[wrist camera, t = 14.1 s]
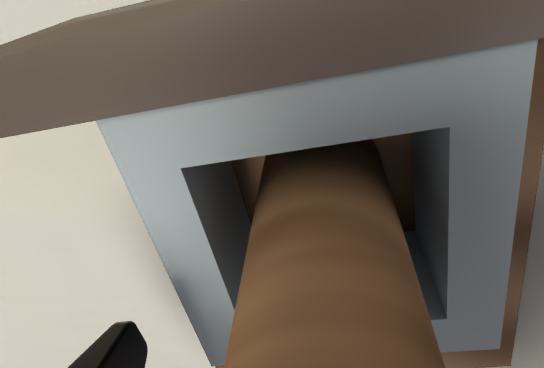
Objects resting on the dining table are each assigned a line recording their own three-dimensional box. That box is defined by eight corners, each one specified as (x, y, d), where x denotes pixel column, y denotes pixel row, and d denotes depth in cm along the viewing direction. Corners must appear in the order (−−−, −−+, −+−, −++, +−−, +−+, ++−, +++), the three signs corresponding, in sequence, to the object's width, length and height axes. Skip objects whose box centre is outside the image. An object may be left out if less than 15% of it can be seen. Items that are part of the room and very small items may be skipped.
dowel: (384, 209, 14) (488, 598, 6) (276, 222, 15) (235, 586, 7) (376, 106, 12) (515, 478, 4) (251, 126, 13) (149, 479, 5)
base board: (501, 346, 19) (569, 493, 14) (225, 363, 22) (199, 493, 17) (557, -97, 10) (799, -125, 5) (72, 18, 13) (-83, 75, 8)
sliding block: (457, 256, 15) (500, 348, 12) (231, 279, 17) (211, 366, 13) (465, 4, 11) (538, 38, 7) (154, 68, 12) (95, 120, 9)
